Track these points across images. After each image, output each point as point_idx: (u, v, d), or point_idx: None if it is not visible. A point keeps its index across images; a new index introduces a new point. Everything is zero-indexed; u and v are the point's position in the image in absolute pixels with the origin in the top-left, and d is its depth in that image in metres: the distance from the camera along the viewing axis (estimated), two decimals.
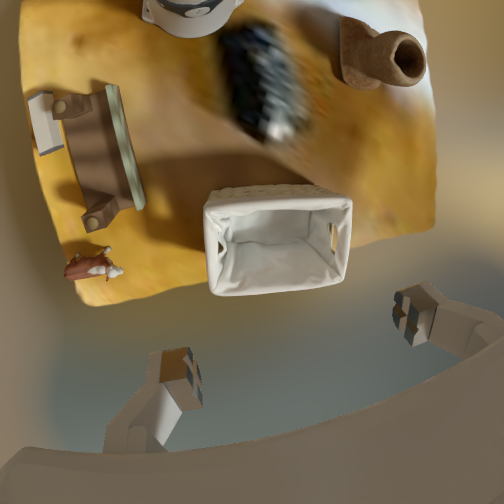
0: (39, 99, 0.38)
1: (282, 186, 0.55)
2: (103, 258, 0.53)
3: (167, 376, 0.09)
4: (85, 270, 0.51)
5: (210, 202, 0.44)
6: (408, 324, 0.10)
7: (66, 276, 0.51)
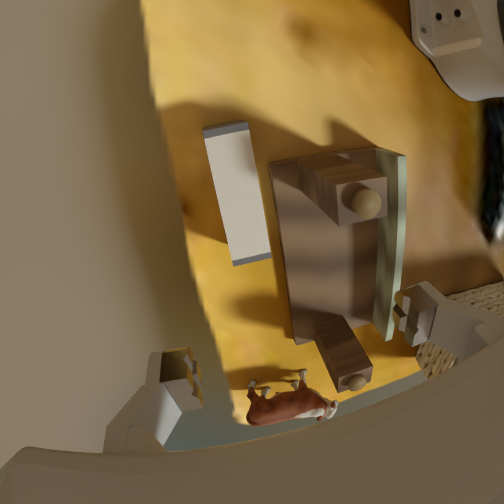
0: (241, 142, 0.22)
1: (494, 290, 0.39)
2: (314, 395, 0.38)
3: (167, 375, 0.09)
4: (291, 415, 0.36)
5: None
6: (408, 324, 0.10)
7: (256, 425, 0.36)
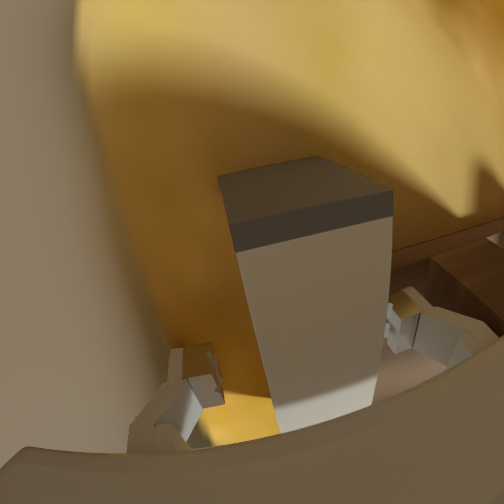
0: (365, 260, 0.06)
1: None
2: None
3: (190, 371, 0.09)
4: None
5: None
6: (391, 331, 0.10)
7: None
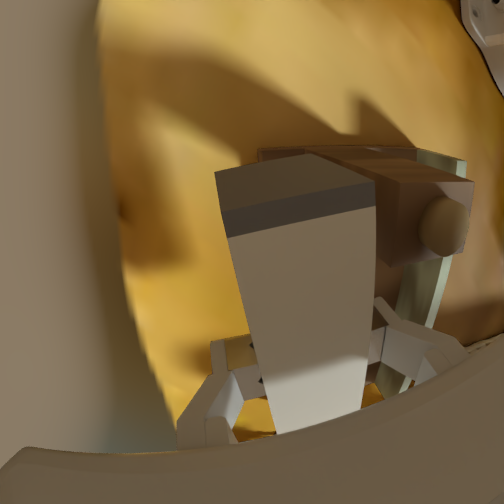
0: (349, 248, 0.07)
1: None
2: None
3: (236, 363, 0.09)
4: None
5: None
6: None
7: None
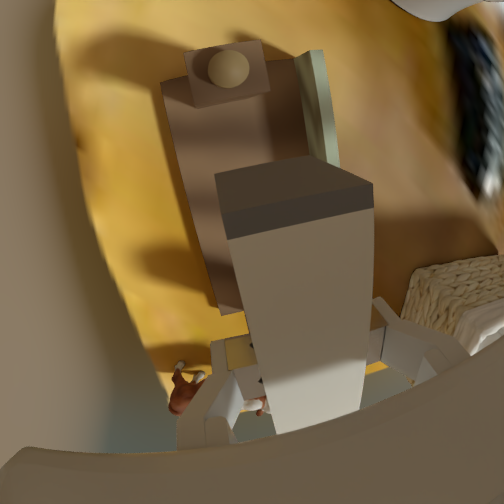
0: (348, 249, 0.07)
1: (487, 262, 0.33)
2: None
3: (236, 363, 0.09)
4: None
5: (474, 315, 0.23)
6: None
7: (177, 414, 0.29)
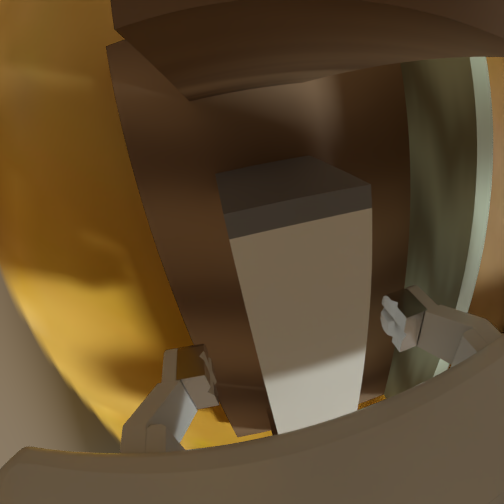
0: (346, 248, 0.07)
1: None
2: None
3: (184, 372, 0.09)
4: None
5: None
6: (396, 329, 0.10)
7: None
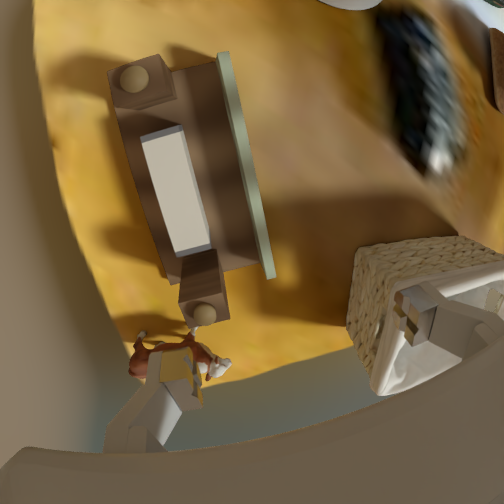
0: (174, 144, 0.24)
1: (440, 241, 0.37)
2: (198, 347, 0.35)
3: (167, 375, 0.09)
4: None
5: (406, 285, 0.27)
6: (408, 324, 0.10)
7: (135, 375, 0.33)
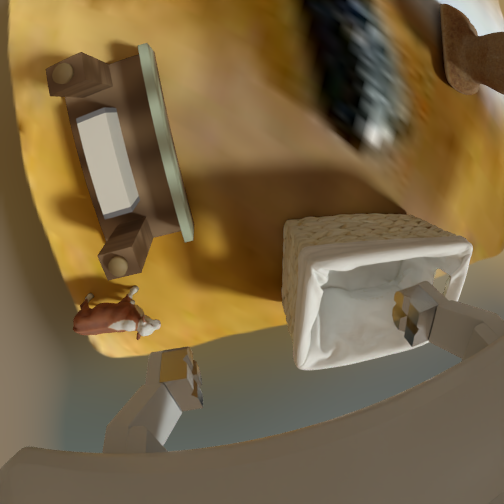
0: (101, 123, 0.26)
1: (378, 217, 0.39)
2: (130, 307, 0.37)
3: (167, 376, 0.09)
4: (105, 324, 0.35)
5: (312, 250, 0.29)
6: (408, 324, 0.10)
7: (77, 331, 0.35)
